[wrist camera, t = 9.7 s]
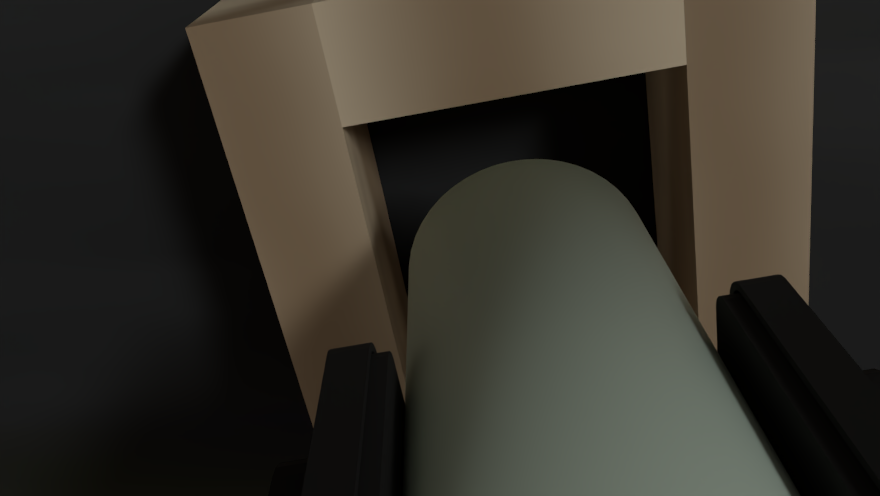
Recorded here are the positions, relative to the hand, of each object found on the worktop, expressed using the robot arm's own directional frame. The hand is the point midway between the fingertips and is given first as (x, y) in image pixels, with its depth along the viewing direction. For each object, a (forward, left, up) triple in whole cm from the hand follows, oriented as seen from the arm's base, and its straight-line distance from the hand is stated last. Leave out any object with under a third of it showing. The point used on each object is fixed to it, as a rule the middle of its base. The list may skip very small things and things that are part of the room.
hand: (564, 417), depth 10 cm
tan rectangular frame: (0, 0, -8) cm, 8 cm away
